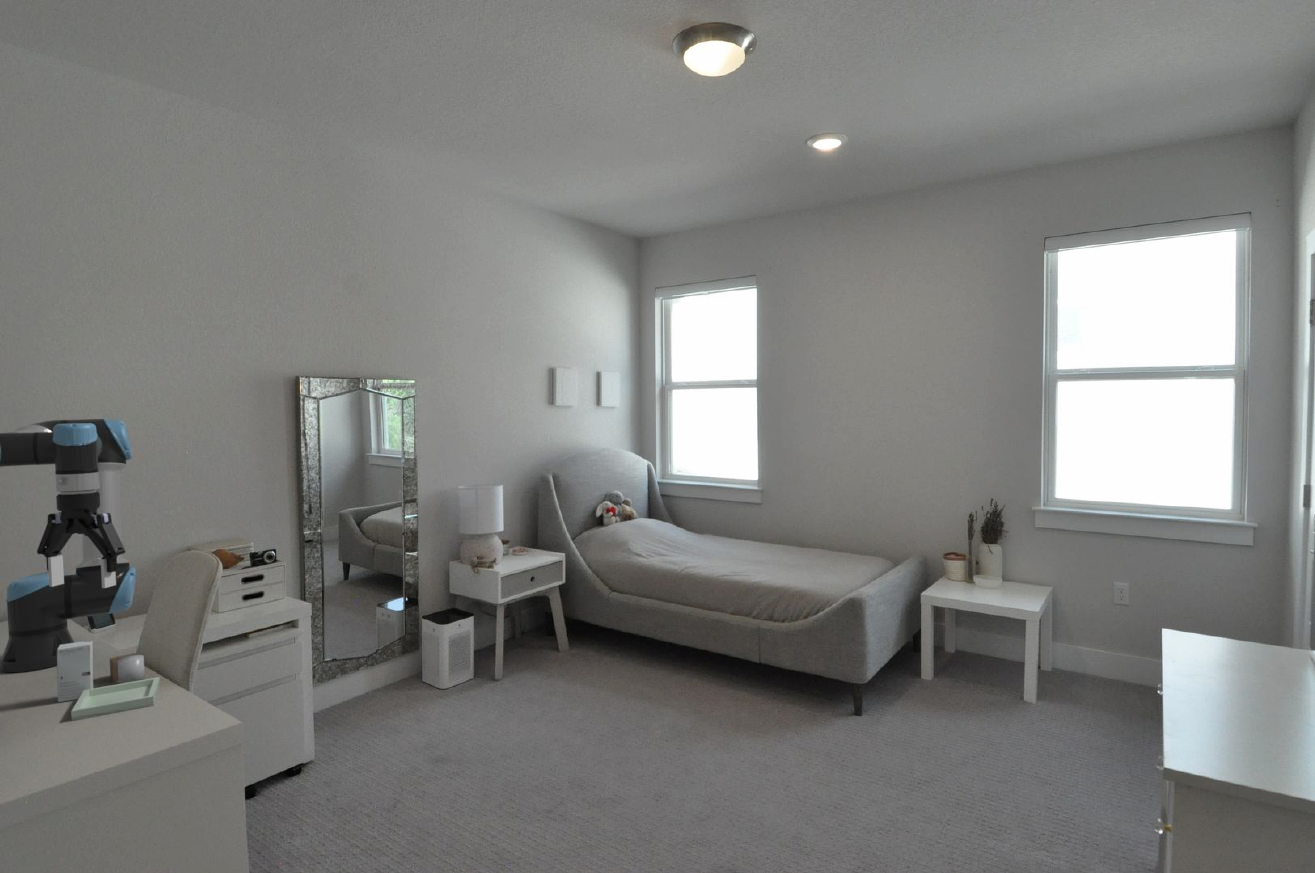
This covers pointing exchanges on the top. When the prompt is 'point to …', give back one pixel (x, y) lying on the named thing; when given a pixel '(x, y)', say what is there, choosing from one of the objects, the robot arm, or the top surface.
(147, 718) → the top surface
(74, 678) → the skincare box
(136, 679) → the grey smooth rounded part
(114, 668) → the walnut block
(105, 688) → the sage dish
